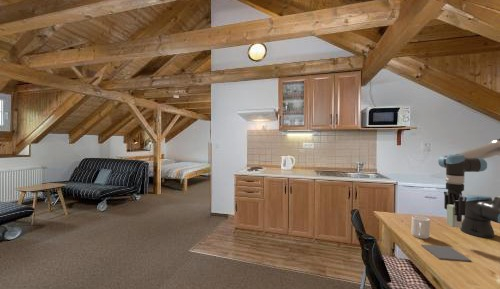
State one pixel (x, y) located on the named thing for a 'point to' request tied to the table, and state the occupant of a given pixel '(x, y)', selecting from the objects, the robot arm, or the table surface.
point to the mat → (445, 253)
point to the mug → (420, 227)
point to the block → (451, 215)
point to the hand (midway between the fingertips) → (454, 224)
